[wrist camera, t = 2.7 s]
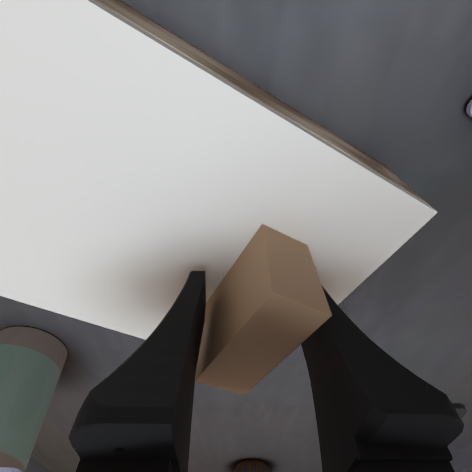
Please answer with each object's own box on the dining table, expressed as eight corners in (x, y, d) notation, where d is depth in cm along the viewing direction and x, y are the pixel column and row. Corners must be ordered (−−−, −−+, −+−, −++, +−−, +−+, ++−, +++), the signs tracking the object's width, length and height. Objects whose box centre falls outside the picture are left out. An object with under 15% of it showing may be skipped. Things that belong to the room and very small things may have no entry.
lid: (427, 203, 13) (511, 278, 9) (261, 363, 20) (268, 445, 16) (-35, -79, 8) (-297, -186, 4) (-42, 268, 15) (-141, 353, 11)
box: (385, 166, 17) (423, 200, 13) (256, 313, 24) (261, 359, 20) (47, -46, 11) (-27, -76, 8) (10, 222, 18) (-38, 264, 15)
